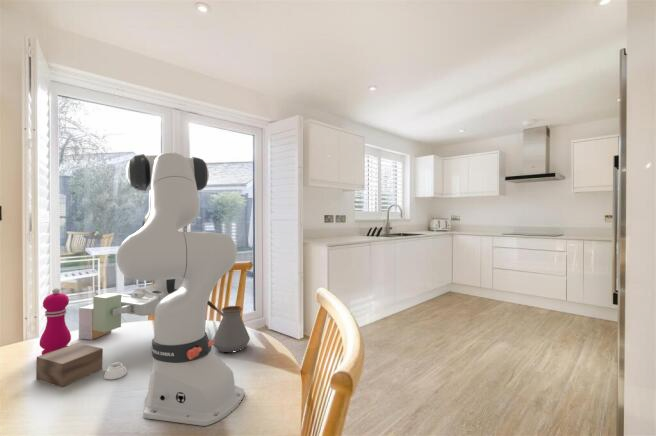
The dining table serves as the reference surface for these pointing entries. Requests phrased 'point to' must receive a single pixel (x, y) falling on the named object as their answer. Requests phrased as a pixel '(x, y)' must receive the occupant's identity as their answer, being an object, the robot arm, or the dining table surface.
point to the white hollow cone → (115, 371)
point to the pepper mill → (55, 322)
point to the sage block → (106, 312)
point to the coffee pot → (230, 330)
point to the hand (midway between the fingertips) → (104, 310)
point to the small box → (88, 324)
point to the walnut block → (69, 364)
